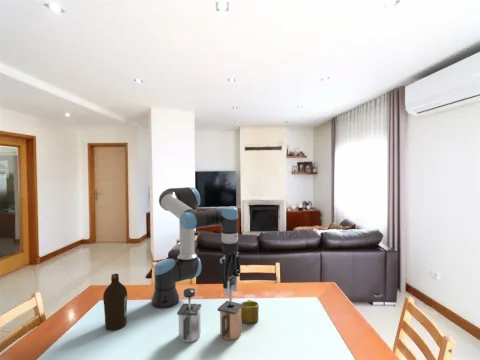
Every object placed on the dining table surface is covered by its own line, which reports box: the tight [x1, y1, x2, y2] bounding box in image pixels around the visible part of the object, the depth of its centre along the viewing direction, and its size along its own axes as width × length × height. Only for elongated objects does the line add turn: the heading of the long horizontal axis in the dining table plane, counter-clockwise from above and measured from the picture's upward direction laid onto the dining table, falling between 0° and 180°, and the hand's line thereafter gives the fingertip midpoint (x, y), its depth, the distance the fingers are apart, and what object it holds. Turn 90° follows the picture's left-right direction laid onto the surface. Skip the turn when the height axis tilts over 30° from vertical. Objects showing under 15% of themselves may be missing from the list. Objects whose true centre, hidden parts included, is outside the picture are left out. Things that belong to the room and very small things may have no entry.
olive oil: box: [102, 273, 128, 331], centre depth 139 cm, size 11×11×25 cm
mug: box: [240, 299, 260, 324], centre depth 145 cm, size 12×10×10 cm
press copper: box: [217, 300, 243, 341], centre depth 130 cm, size 12×9×13 cm
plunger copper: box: [228, 276, 236, 308], centre depth 131 cm, size 6×6×18 cm
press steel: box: [176, 303, 202, 344], centre depth 128 cm, size 12×9×13 cm
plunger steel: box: [183, 287, 196, 310], centre depth 130 cm, size 6×6×18 cm
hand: (230, 292), depth 131 cm, fingers closed on plunger copper, 5 cm apart
